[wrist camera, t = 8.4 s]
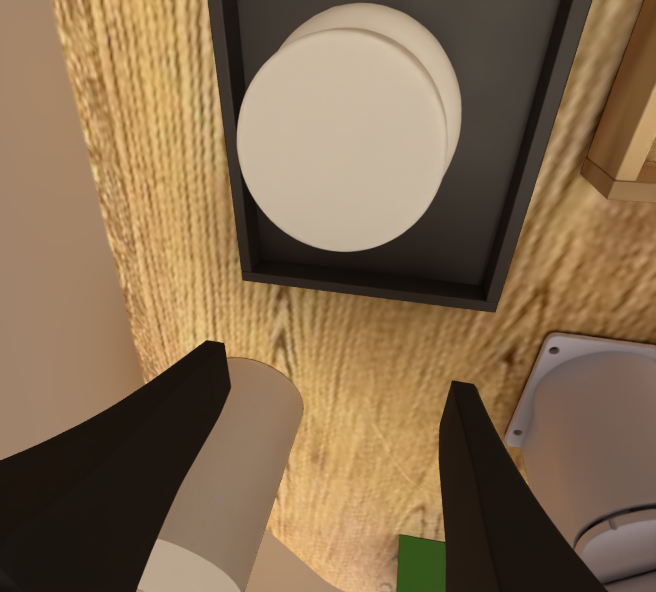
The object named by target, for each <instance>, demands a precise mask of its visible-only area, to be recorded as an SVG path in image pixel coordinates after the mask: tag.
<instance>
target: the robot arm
mask: <svg viewBox="0 0 656 592" xmlns="http://www.w3.org/2000/svg"><path fill="white" fill-rule="evenodd" d="M552 347H557V348H556V349H553V350H550V348H552ZM230 390H231V381H230V375H229V369H228V363H227V357H226V351H225V345H224V343H221V342H215V341H209V340H207V341H205V342H204V343H202V344H201V345H199V346H198V347H197V348H195V349H194V350H193V351H191V352H190V353H189V354H187V355H186V356H185V357H183V358H182V359H181V360H179V361H178V362H177V363H175V364H174V365H173V366H171V367H170V368H168V369H167V370H166V371H164V372H163V373H161V374H160V375H159V376H157V377H156V378H154V379H153V380H152V381H150V382H149V383H147V384H146V385H144V386H143V387H141V388H140V389H138V390H137V391H135V392H134V393H132V394H131V395H129V396H127V397H126V398H125V399H123V400H121V401H120V402H118V403H117V404H115V405H113V406H112V407H110V408H108V409H107V410H105V411H103V412H101V413H99V414H98V415H96V416H94V417H92V418H90V419H89V420H87V421H85V422H83V423H81V424H79V425H77V426H75V427H73V428H71V429H69V430H67V431H65V432H63V433H61V434H59V435H57V436H55V437H53V438H51V439H49V440H47V441H45V442H42V443H40V444H38V445H36V446H33V447H31V448H29V449H27V450H25V451H22V452H20V453H17V454H15V455H12V456H10V457H8V458H5V459H3V460H0V592H136V590H137V588H138V585H139V582H140V580H141V577H142V575H143V572H144V570H145V567H146V565H147V562H148V560H149V557H150V554H151V552H152V550H153V547H154V545H155V542H156V540H157V538H158V535H159V533H160V531H161V528H162V526H163V524H164V521H165V519H166V517H167V514H168V512H169V510H170V508H171V506H172V503H173V501H174V499H175V497H176V494H177V492H178V490H179V488H180V486H181V484H182V482H183V480H184V478H185V477H186V475H187V473H188V471H189V470H190V468H191V466H192V464H193V462H194V461H195V459H196V457H197V455H198V454H199V452H200V450H201V448H202V447H203V445H204V443H205V441H206V440H207V438H208V436H209V434H210V433H211V431H212V429H213V427H214V425H215V424H216V422H217V420H218V418H219V416H220V414H221V412H222V410H223V407H224V405H225V403H226V400H227V397H228V395H229V392H230ZM505 443H506V444H507V445H509V446H512V447H517V448H521V450H522V455H523V460H524V464H525V469H526V473H527V478H528V482H529V487H530V488H529V487H528V485H527V484H526V482H525V480H524V479H523V477H522V475H521V474H520V472H519V471H518V469H517V467H516V466H515V464H514V462H513V460H512V459H511V457H510V455H509V453H508V452H507V450H506V448H505V446H504V444H503V442H502V441H501V439H500V437H499V435H498V433H497V431H496V429H495V427H494V425H493V423H492V421H491V419H490V417H489V415H488V413H487V411H486V409H485V406H484V404H483V402H482V400H481V397H480V395H479V393H478V390H477V388H476V386H475V385H474V384H471V383H465V382H459V381H452V382H451V386H450V390H449V393H448V397H447V401H446V404H445V408H444V411H443V415H442V419H441V422H440V429H439V470H440V482H441V494H442V506H443V518H444V529H445V546H446V592H656V345H650V344H642V343H634V342H627V341H619V340H612V339H604V338H597V337H589V336H581V335H574V334H566V333H559V332H555V333H551V334H549V335H548V336H547V337H546V338H545V341H544V343H543V346H542V348H541V350H540V353H539V355H538V358H537V360H536V362H535V365H534V367H533V370H532V372H531V374H530V377H529V379H528V382H527V384H526V386H525V389H524V391H523V394H522V396H521V398H520V401H519V403H518V406H517V408H516V410H515V413H514V415H513V418H512V420H511V423H510V425H509V427H508V430H507V432H506V435H505Z"/></svg>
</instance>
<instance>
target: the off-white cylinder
mask: <svg viewBox="0 0 656 592" xmlns="http://www.w3.org/2000/svg"><path fill="white" fill-rule="evenodd" d="M227 363H228V369H229V375H230V381H231V390H230V392H229V395H228V397H227V400H226V403H225V405H224V407H223V410H222V412H221V414H220V416H219V418H218V420H217V422H216V424H215V425H214V427H213V429H212V431H211V433H210V434H209V436H208V438H207V440H206V441H205V443H204V445H203V447H202V448H201V450H200V452H199V454H198V455H197V457H196V459H195V461H194V462H193V464H192V466H191V468H190V470H189V471H188V473H187V475H186V477H185V478H184V480H183V482H182V484H181V486H180V488H179V490H178V492H177V494H176V497H175V499H174V501H173V503H172V506H171V508H170V510H169V512H168V514H167V517H166V519H165V521H164V524H163V526H162V528H161V531H160V533H159V535H158V538H157V540H156V542H155V545H154V547H153V550H152V552H151V554H150V557H149V560H148V562H147V565H146V567H145V570H144V572H143V575H142V577H141V580H140V582H139V585H138V588H139V589H140V590H142V591H145V592H245V589H246V586H247V583H248V580H249V577H250V574H251V571H252V568H253V565H254V562H255V559H256V556H257V553H258V549H259V547H260V544H261V540H262V537H263V534H264V531H265V528H266V525H267V522H268V519H269V516H270V513H271V510H272V507H273V504H274V501H275V498H276V495H277V492H278V488H279V485H280V482H281V479H282V476H283V473H284V470H285V467H286V464H287V461H288V458H289V455H290V452H291V449H292V446H293V443H294V440H295V436H296V433H297V430H298V427H299V424H300V421H301V418H302V415H303V401H302V398H301V396H300V394H299V392H298V390H297V389H296V387H295V386H294V385H293V384H292V383H291V381H290V380H289V379H287V378H286V377H285V376H284V375H283V374H281V373H280V372H278V371H277V370H275V369H273V368H272V367H270V366H268V365H265V364H263V363H260V362H257V361H254V360H250V359H244V358H227Z"/></svg>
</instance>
